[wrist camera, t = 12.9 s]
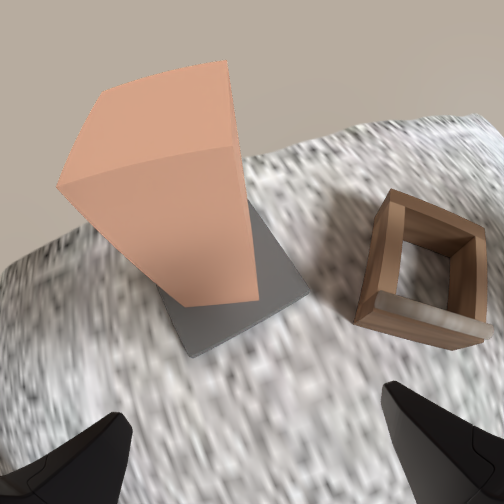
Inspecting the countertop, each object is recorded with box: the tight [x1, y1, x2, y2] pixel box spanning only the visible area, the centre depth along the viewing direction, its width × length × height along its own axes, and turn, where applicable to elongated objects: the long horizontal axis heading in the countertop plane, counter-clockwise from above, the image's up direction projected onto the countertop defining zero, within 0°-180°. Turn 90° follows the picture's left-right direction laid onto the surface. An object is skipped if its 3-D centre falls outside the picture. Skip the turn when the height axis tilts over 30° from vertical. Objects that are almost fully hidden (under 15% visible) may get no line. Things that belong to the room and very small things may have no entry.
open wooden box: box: [353, 189, 494, 351], centre depth 16 cm, size 9×9×5 cm
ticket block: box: [56, 60, 259, 307], centre depth 13 cm, size 5×5×13 cm
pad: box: [156, 199, 310, 358], centre depth 19 cm, size 9×9×1 cm
